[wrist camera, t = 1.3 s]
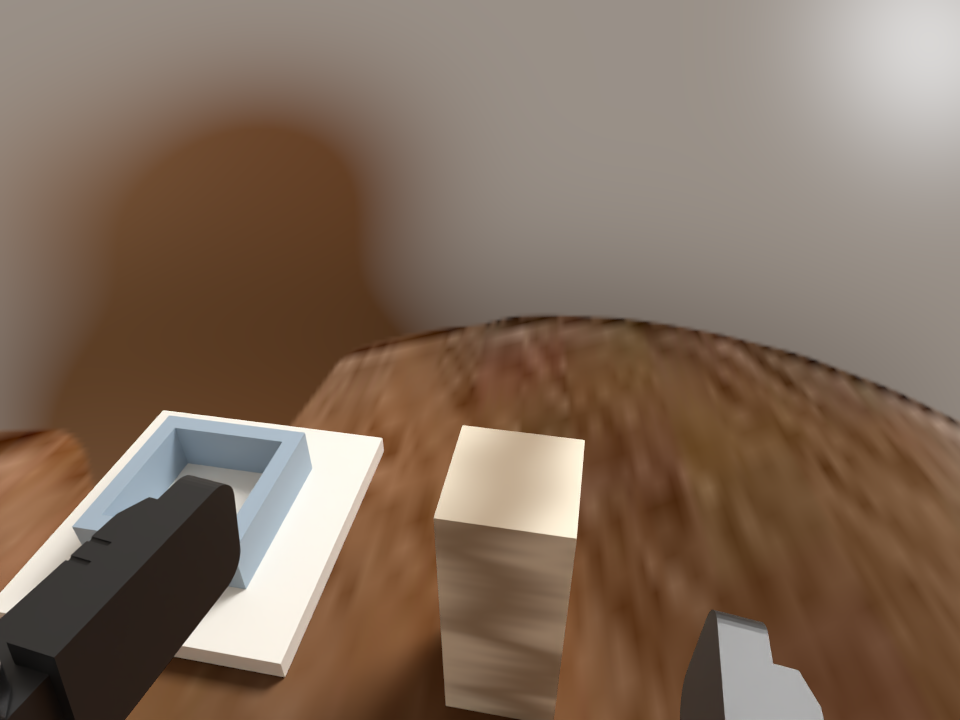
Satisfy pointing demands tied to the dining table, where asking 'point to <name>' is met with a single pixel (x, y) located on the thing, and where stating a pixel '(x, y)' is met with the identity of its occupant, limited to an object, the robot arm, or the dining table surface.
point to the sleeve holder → (261, 523)
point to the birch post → (506, 569)
